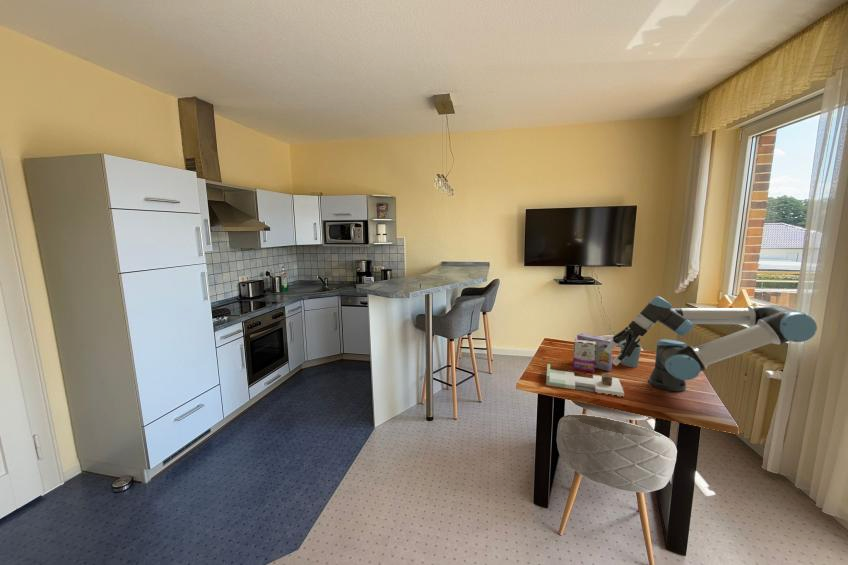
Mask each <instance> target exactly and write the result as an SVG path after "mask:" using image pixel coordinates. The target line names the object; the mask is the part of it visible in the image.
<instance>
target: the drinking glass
mask: <svg viewBox="0 0 848 565" xmlns="http://www.w3.org/2000/svg"><path fill="white" fill-rule="evenodd" d="M625 344H626V341H621V342H620V351H623V348H624V346H625ZM641 349H642V345H641V344H639V343H637V345H636V347H635V349H634V350H633V352H632V354H631V355H630V357H628V356H626V357H625V358H624V359H623V360H622V361H621V362H620V364H621V365H622V364H623V365H622V366H624V365H625V366H624V367H627V366H628V367H629V368H637V367H638V366H639V360H640V354H641Z"/></svg>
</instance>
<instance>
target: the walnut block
mask: <svg viewBox="0 0 848 565" xmlns="http://www.w3.org/2000/svg"><path fill="white" fill-rule="evenodd" d="M601 376H602V380H601V381H602V384H603V385H610V386H612V378H613V377H612V374H607V373H602V374H601Z"/></svg>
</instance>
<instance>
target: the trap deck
mask: <svg viewBox="0 0 848 565" xmlns="http://www.w3.org/2000/svg"><path fill="white" fill-rule="evenodd" d="M546 366H547V367H546V379H545V382H546V383H545V385H546V386H551V387H557V388H562V389H563V388H564V389H570V390H575V389H576V390H577V391H582V392H587V393H588V392H590V393H595V392H597V393H596V394H601V393H605V394H604V395H608V394H612V395H611V396H614V395H617V397H621V396H623V397H622V398H624V396H625V392H624V389H623V386H622V384H621V381H620V378H616V377H612V386H610V385H603V384H602V381H601V380H602V375H592V377H588V376H587V377H586V376H582V375H581V376H579V375H575V372H573V371H566V370H557V369H552V368H551V363H547V365H546Z"/></svg>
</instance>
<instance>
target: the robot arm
mask: <svg viewBox="0 0 848 565" xmlns="http://www.w3.org/2000/svg"><path fill="white" fill-rule="evenodd" d="M672 306H673V305H672V303H671V302H669V301H667V300H666V299H664V298H663V297H661V296H659V295H656V296H655V297H654V298H652V299H651V300H650V301H649V302H648V304H647V305H646V306H645V307H644V308H643V309H642V311H640V313H638V314H636V317H635V318H634V320H632V321H631V322H630V323H629V324H628V326H626V327H625V328H624V329H623V330H621V331H620V332H618V333H616V334H615V335H614V336H613V337H612V340H613V341H612V342H611V343H610V344H609V345H608V347H607V348H606V349H605V350H604V351H606V352H607V353H610V352H611V351H612V352H613V351H614V349H616V347H617V346H618V345H619V344H620V343H622V342H626V344H625V346H624V348H623V351H621V350H620V352H619V353H618V354H617V355H616V356H615V357H614V358H612V362H611V363H612V365H614V366H616V367H617V366H618V365H619V364H621V361H622V360H623V359H624V358H625V357H626V356H628V357H630V355H631V354H632V352H633V350H634V349H635V347H636V345H637V344H639V343H640V342H641V338H640V336H641V337H643V336H645V335H646V334H647V332H648V331H649V330H650V329H652V328H653V327H654V326H655V324H656V323H657V322H659V323H661V324H662V325H664V326H665V327H667V328H668V329H670V330H672V331H673V332H674V333H676V334H678V335H680V336H685V335H687V334H688V333H689V332H691V331H692V329H693V327H694V325H741V326H742V325H746V326H748V327H747V328H744V329H741V330H740V329H739V330H738V331H736V332H733V333H729V334H727V335H725V336H721V337H719V338H716V339H714V340H711V341H708V342H706V343H702V344H700V345H698V346H697V345H696V346H692V345H687V343H686V342H683V341H679V340H676V339H675V340H674V339H666V338H665V339H659V340H658V341H657V342H656V352H655V353H656V354H655V360H654V368H653V370H652V372H651V373H650V375H649V378H648V381H649V383H650V384H651V385H652V386H654V387H656V388H659V389H662V390H665V391H671V392H683V391H685V390H686V389H687V383H686V381H691V380H694V379H696V378H697V377H698V376H699V374H700V373H701V372H703V371H706V370H707V368H708V366H709V365H711V364H715V363H718V362H721V361H723V360H727V359H729V358H733V357H735V356H739V355H740V354H743V353H747V352H749V351H752V350H754V349H758V348H761V347H764V346H767V345H770V344H773V345H782V344H785V343H788V342H792V343H803V342H807V341H809V340H811V339H812V338H813V337H814V336H815V335H816V332H817V329H818V326H817V325H818V324H817V322H816V321H815V319H814V318H813V317H812V316H810V315H808V314H806V313H805V312H802V311H798V310H795V309H792V308H789V307H786V306H785V305H784V306H783V305H747V306H746V307H705V308H704V307H695V308H694V307H685V308H684V307H683V308H682V307H672Z"/></svg>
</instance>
